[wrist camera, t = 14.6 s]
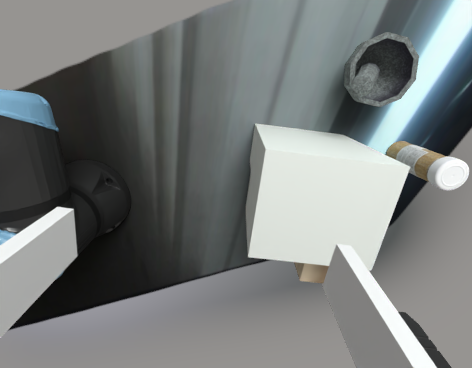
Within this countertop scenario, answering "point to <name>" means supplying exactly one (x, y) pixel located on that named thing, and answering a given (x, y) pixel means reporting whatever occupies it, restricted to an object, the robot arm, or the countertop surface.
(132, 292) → the countertop surface
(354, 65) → the mortar and pestle
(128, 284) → the countertop surface
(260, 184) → the cabinet
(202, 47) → the countertop surface
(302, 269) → the wooden rectangular block
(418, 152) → the sprinkles bottle
